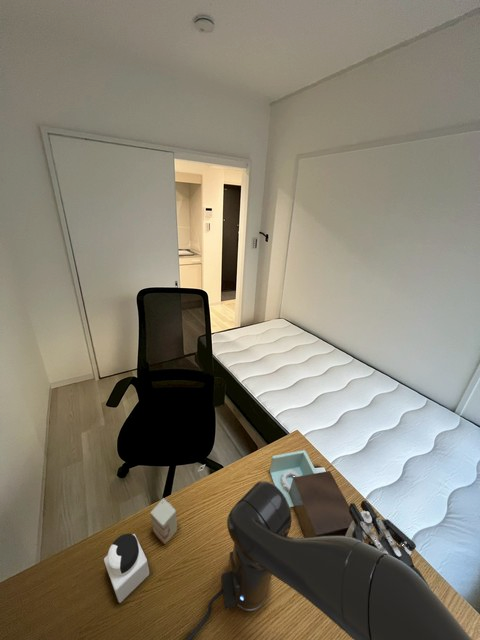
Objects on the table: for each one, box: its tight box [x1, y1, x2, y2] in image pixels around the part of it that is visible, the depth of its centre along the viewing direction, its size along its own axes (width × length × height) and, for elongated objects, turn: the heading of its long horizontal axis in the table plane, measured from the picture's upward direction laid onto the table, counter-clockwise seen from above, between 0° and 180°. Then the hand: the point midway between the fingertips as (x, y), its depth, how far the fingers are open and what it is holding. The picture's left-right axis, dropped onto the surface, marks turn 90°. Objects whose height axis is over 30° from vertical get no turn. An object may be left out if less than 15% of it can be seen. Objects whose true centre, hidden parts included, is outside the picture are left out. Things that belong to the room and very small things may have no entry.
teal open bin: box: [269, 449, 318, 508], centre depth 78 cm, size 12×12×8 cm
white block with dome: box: [103, 533, 150, 604], centre depth 56 cm, size 7×7×12 cm
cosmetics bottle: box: [150, 497, 178, 546], centre depth 64 cm, size 5×4×10 cm
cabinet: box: [289, 470, 353, 538], centre depth 71 cm, size 15×13×8 cm
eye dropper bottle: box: [345, 510, 374, 542], centre depth 56 cm, size 4×6×12 cm
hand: (357, 504), depth 57 cm, fingers closed on eye dropper bottle, 2 cm apart
